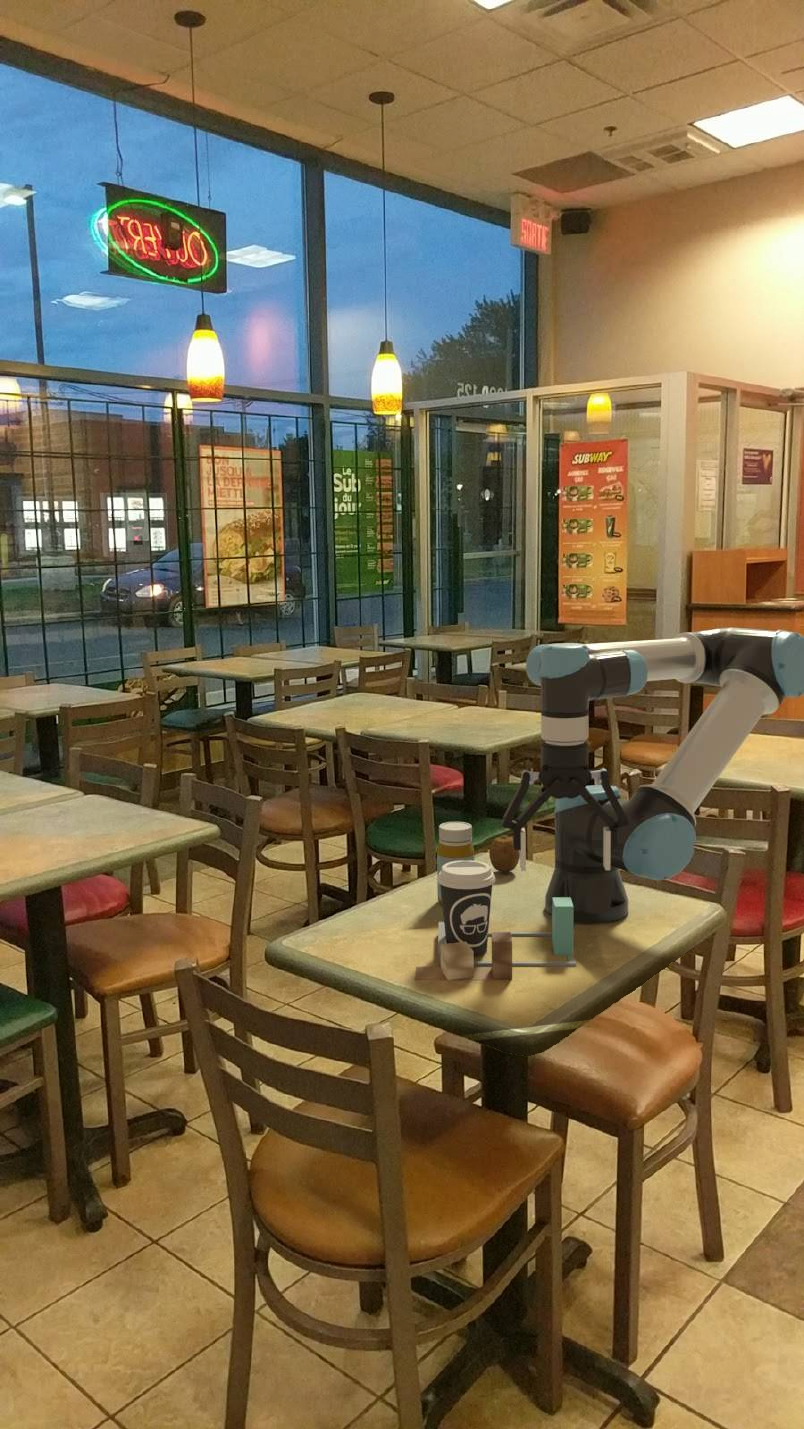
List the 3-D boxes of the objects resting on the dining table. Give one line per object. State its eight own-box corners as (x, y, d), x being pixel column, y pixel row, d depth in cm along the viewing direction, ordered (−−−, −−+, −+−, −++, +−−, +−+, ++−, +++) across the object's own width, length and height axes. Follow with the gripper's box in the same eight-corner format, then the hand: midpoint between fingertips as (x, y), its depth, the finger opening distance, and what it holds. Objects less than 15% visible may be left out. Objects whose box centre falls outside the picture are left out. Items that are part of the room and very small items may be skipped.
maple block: (466, 966, 168) (466, 941, 167) (473, 977, 164) (473, 951, 163) (440, 969, 167) (440, 944, 166) (447, 980, 163) (447, 954, 162)
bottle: (481, 900, 201) (480, 823, 198) (463, 911, 195) (462, 832, 192) (449, 894, 204) (448, 819, 202) (430, 904, 199) (429, 827, 196)
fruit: (520, 868, 219) (520, 831, 218) (518, 878, 213) (518, 839, 212) (490, 867, 220) (490, 830, 219) (487, 876, 214) (487, 838, 213)
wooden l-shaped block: (510, 971, 167) (510, 930, 166) (512, 984, 162) (512, 942, 161) (416, 971, 168) (415, 930, 167) (415, 984, 163) (414, 942, 162)
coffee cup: (503, 947, 177) (502, 861, 175) (485, 969, 169) (484, 879, 166) (449, 940, 181) (448, 856, 178) (429, 961, 172) (428, 872, 170)
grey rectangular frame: (567, 938, 181) (567, 888, 179) (576, 970, 167) (576, 916, 166) (438, 938, 182) (438, 888, 180) (437, 970, 168) (437, 916, 167)
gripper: (639, 734, 171) (637, 860, 175) (485, 737, 173) (487, 861, 176) (647, 743, 164) (646, 874, 168) (487, 746, 165) (489, 876, 169)
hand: (564, 868), depth 172 cm, fingers open, 13 cm apart
